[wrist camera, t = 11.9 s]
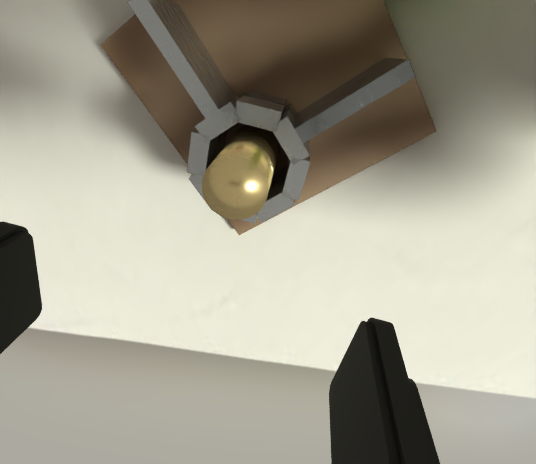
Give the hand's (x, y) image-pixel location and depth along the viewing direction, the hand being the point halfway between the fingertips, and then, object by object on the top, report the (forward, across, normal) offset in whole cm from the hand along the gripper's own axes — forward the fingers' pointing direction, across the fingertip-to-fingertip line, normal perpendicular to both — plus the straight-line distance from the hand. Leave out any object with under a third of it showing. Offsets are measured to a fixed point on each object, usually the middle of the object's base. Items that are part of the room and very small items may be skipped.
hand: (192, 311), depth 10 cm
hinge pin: (+20, +1, 0) cm, 20 cm away
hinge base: (+21, +1, -4) cm, 21 cm away
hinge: (+20, +1, -5) cm, 20 cm away
